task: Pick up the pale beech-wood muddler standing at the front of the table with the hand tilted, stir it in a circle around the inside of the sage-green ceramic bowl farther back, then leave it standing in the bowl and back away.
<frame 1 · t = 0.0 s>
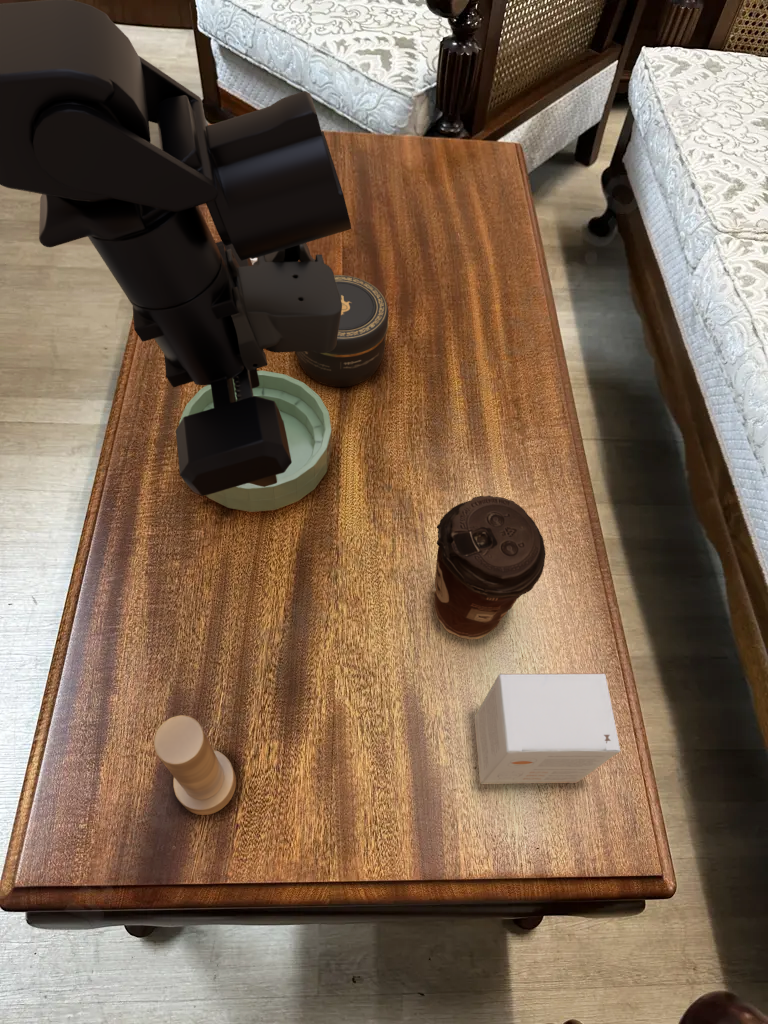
hand: (261, 432, 53), 16 cm above the table, tool pointing down, fingers open, 9 cm apart
muddler: (207, 784, 55), on the table
jar: (339, 359, 80), on the table
bowl: (259, 454, 72), on the table
chess piece: (255, 328, 82), on the table
coffee cup: (465, 607, 65), on the table
small box: (523, 749, 58), on the table
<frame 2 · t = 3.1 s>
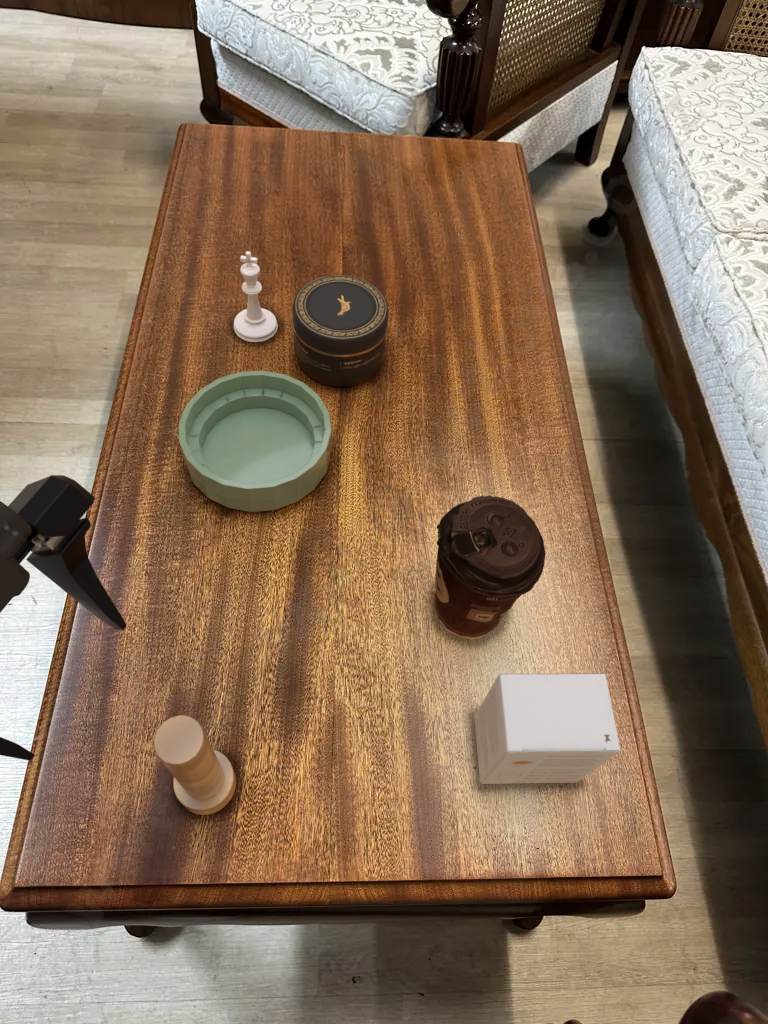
hand: (79, 689, 45), 13 cm above the table, tool tilted 45°, fingers open, 9 cm apart
nothing on the table moved.
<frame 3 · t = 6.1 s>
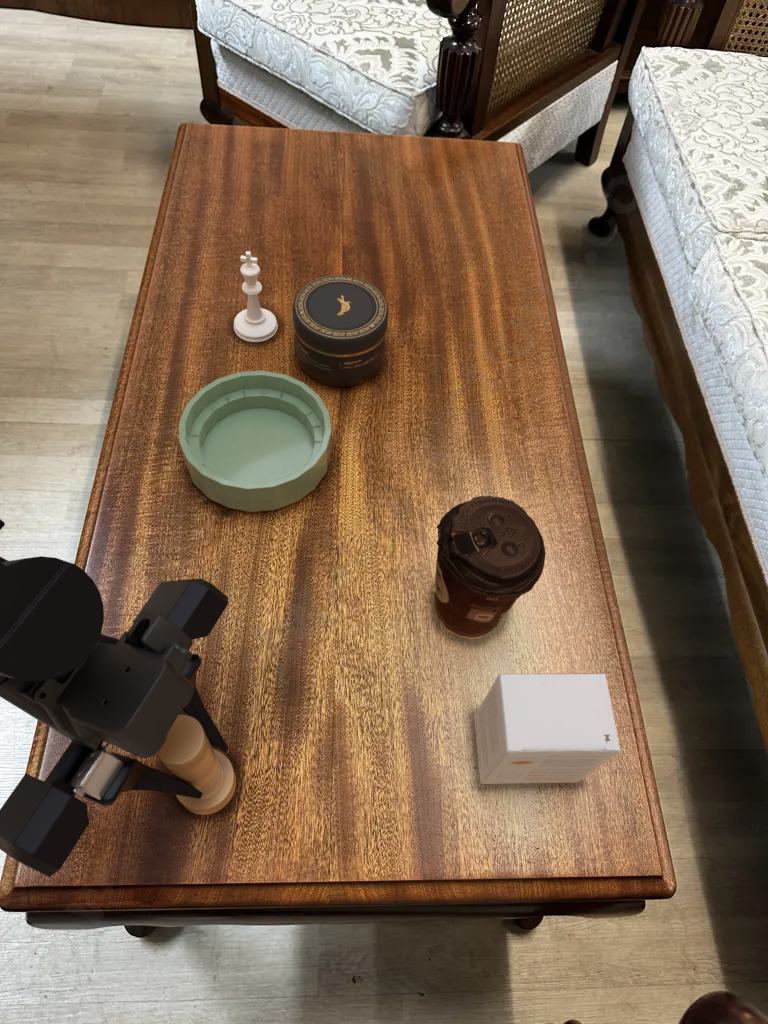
hand: (211, 772, 49), 7 cm above the table, tool tilted 45°, fingers closed on muddler, 3 cm apart
muddler: (207, 784, 55), on the table, touching gripper
everything else where it was.
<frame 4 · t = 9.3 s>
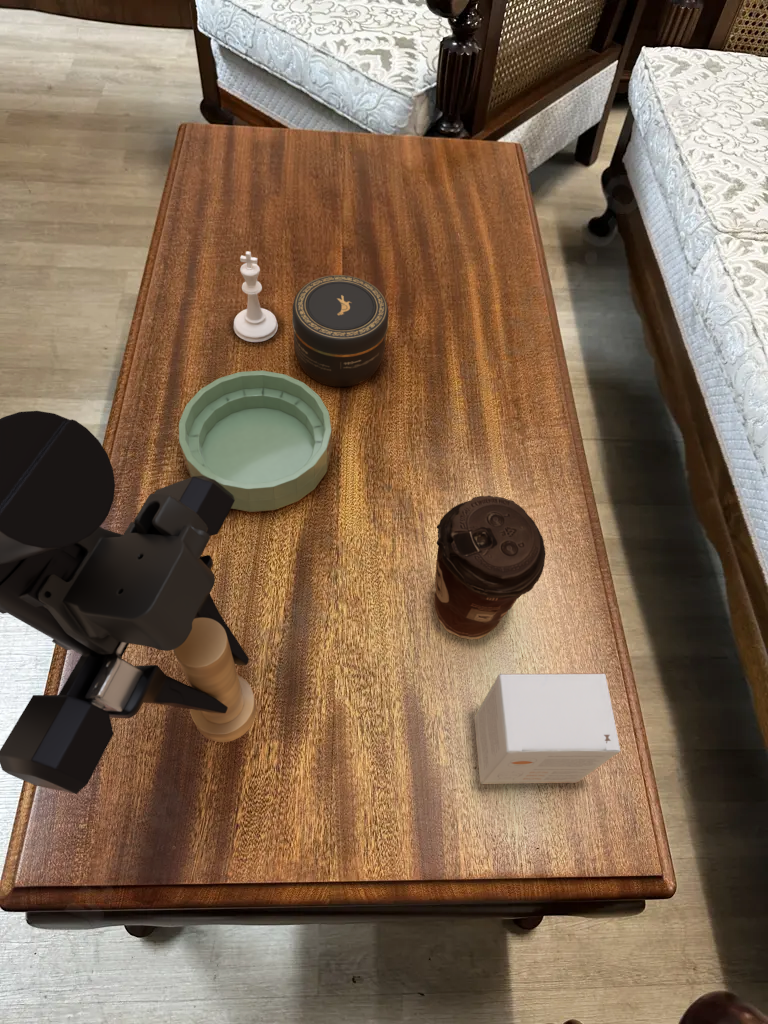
hand: (233, 686, 46), 14 cm above the table, tool tilted 45°, fingers closed on muddler, 3 cm apart
muddler: (225, 711, 51), point 7 cm above the table, touching gripper
everything else where it was.
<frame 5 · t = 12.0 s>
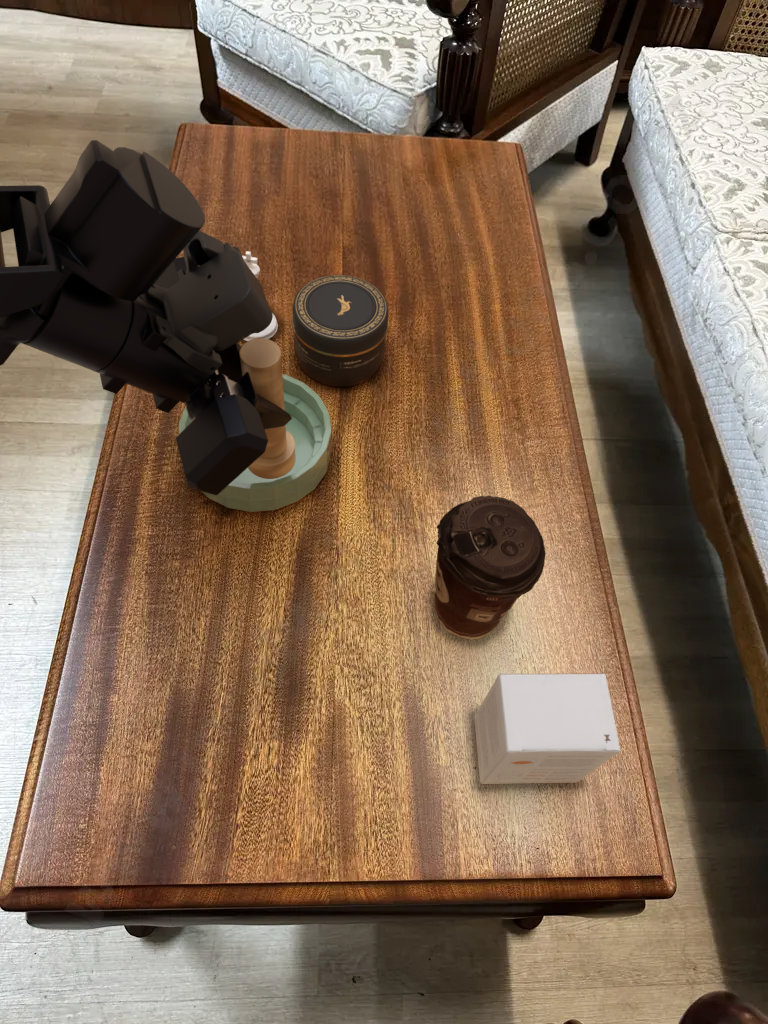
hand: (282, 405, 58), 14 cm above the table, tool tilted 45°, fingers closed on muddler, 3 cm apart
muddler: (270, 458, 63), point 7 cm above the table, touching gripper
everything else where it was.
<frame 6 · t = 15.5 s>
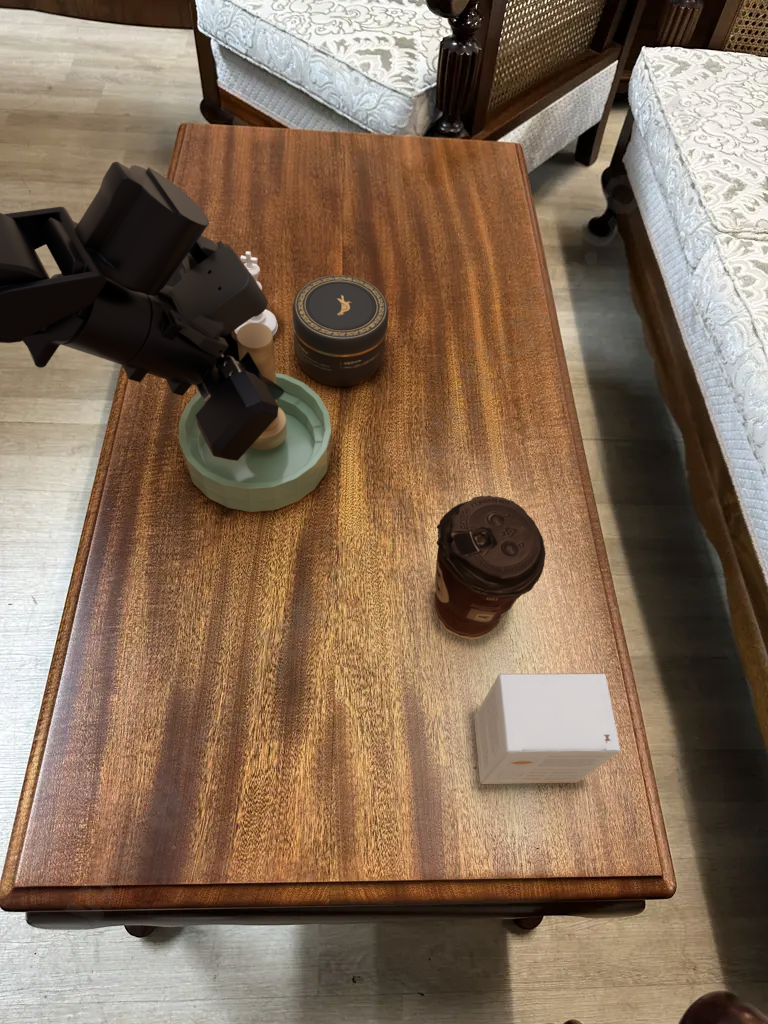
hand: (273, 382, 66), 9 cm above the table, tool tilted 45°, fingers closed on muddler, 3 cm apart
muddler: (264, 432, 71), point 2 cm above the table, touching gripper
everything else where it was.
when the fingers open (7 cm above the table, at t = 18.2 s): muddler stays where it is, resting on bowl.
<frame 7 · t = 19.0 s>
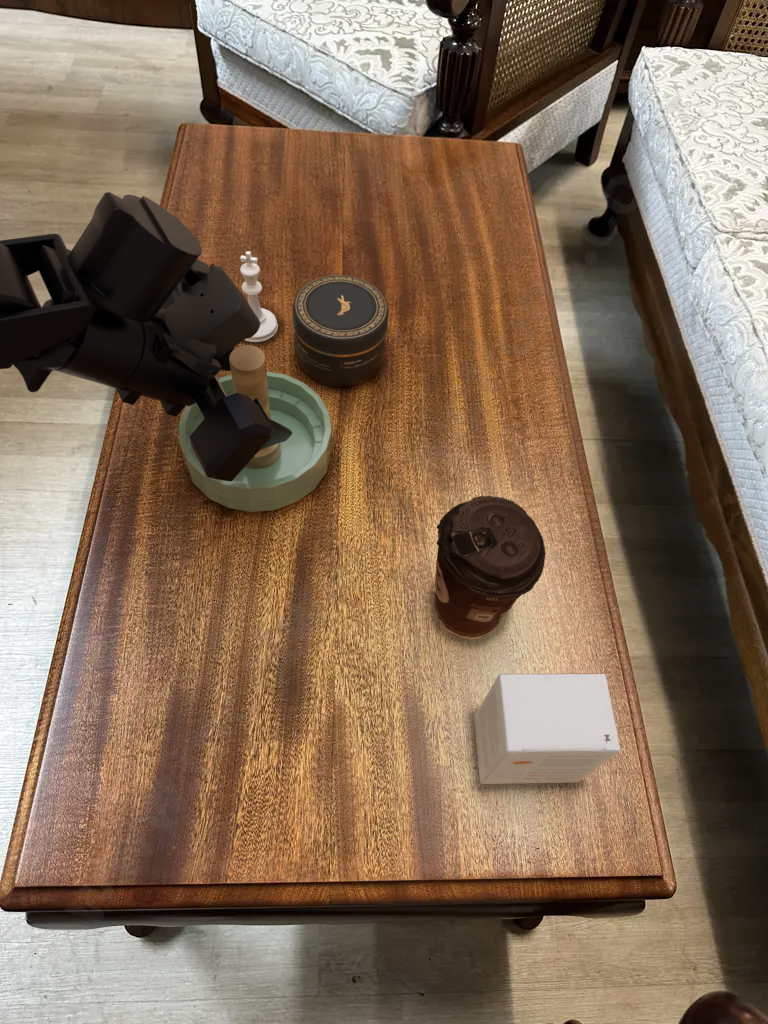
hand: (267, 400, 66), 8 cm above the table, tool tilted 45°, fingers open, 9 cm apart
muddler: (258, 450, 71), point 1 cm above the table, touching bowl
everything else where it was.
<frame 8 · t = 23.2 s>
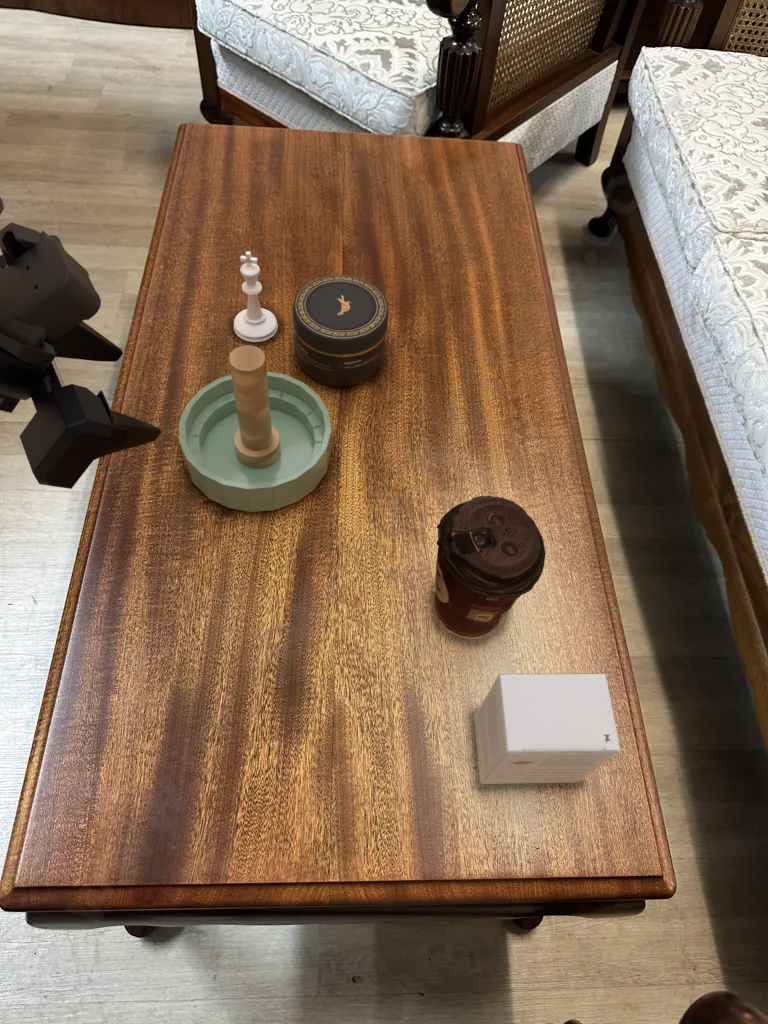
hand: (138, 394, 58), 14 cm above the table, tool tilted 45°, fingers open, 9 cm apart
nothing on the table moved.
at the end: muddler inside the target area in the bowl (0.0 cm from its centre), point 0.6 cm above the bowl's base; muddler tilted 0°; muddler moved 31.6 cm from its start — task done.
